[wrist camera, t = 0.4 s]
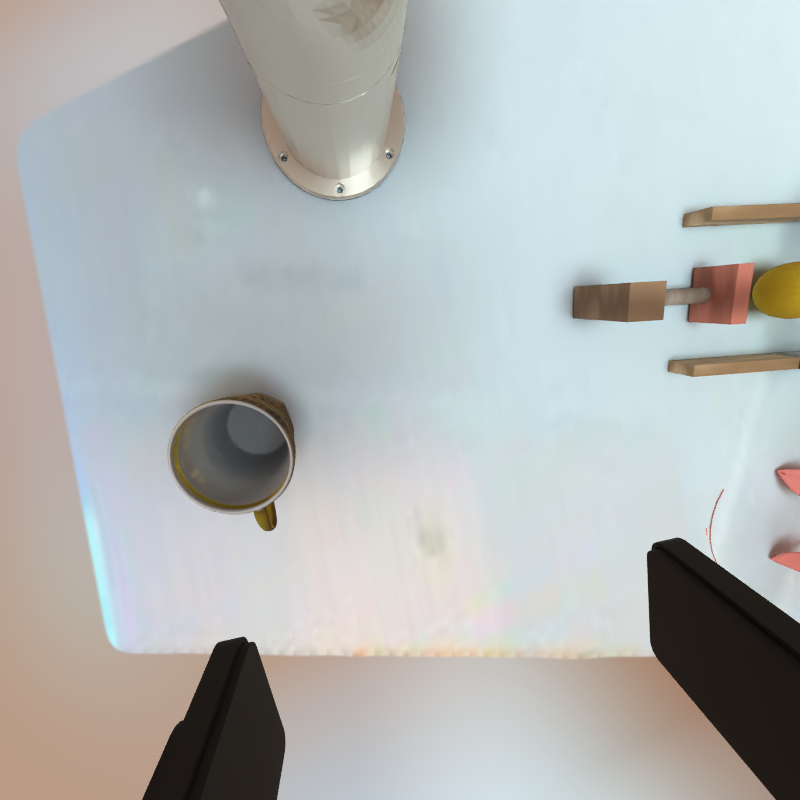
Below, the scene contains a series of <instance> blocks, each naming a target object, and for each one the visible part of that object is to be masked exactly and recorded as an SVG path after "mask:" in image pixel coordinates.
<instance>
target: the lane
mask: <svg viewBox="0 0 800 800" xmlns="http://www.w3.org/2000/svg"><path fill="white" fill-rule="evenodd" d="M798 220H800V203H792V204H768V205H743V206H719V207H710V208H707V209H703V210H699V211H696V212H692V213H688V214H684V218H683V227H695V226H717V225H739V224H761V223H783V222H792V221H798ZM799 362H800V357H792V356H784V355H776V354H768V353H766V354H752V355H739V356H725V357H712V358H698V359H684V360H671V361H669V365H668V371H669V372H674V373H678V374H683V375H687V376H692V377H698V376H710V375H723V374H736V373H749V372H762V371H775V370H788V369H798V367H799Z"/></svg>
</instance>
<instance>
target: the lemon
mask: <svg viewBox="0 0 800 800" xmlns="http://www.w3.org/2000/svg"><path fill="white" fill-rule="evenodd" d="M752 298H753V302H754V304H755V306H756V307H757V308H758V309H759V310H760V311H761V312H763V313H765V314H767V315H769V316H773V317H778V318H785V319H792V318H800V262H792V263H787V264H783V265H780V266H777V267H775V268H773V269H771V270H769V271H767V272H766V273H765V274H763V275H762V276H761V277H760V278H759V279H758V281H757V282H756V284H755V286H754V288H753V291H752Z"/></svg>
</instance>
